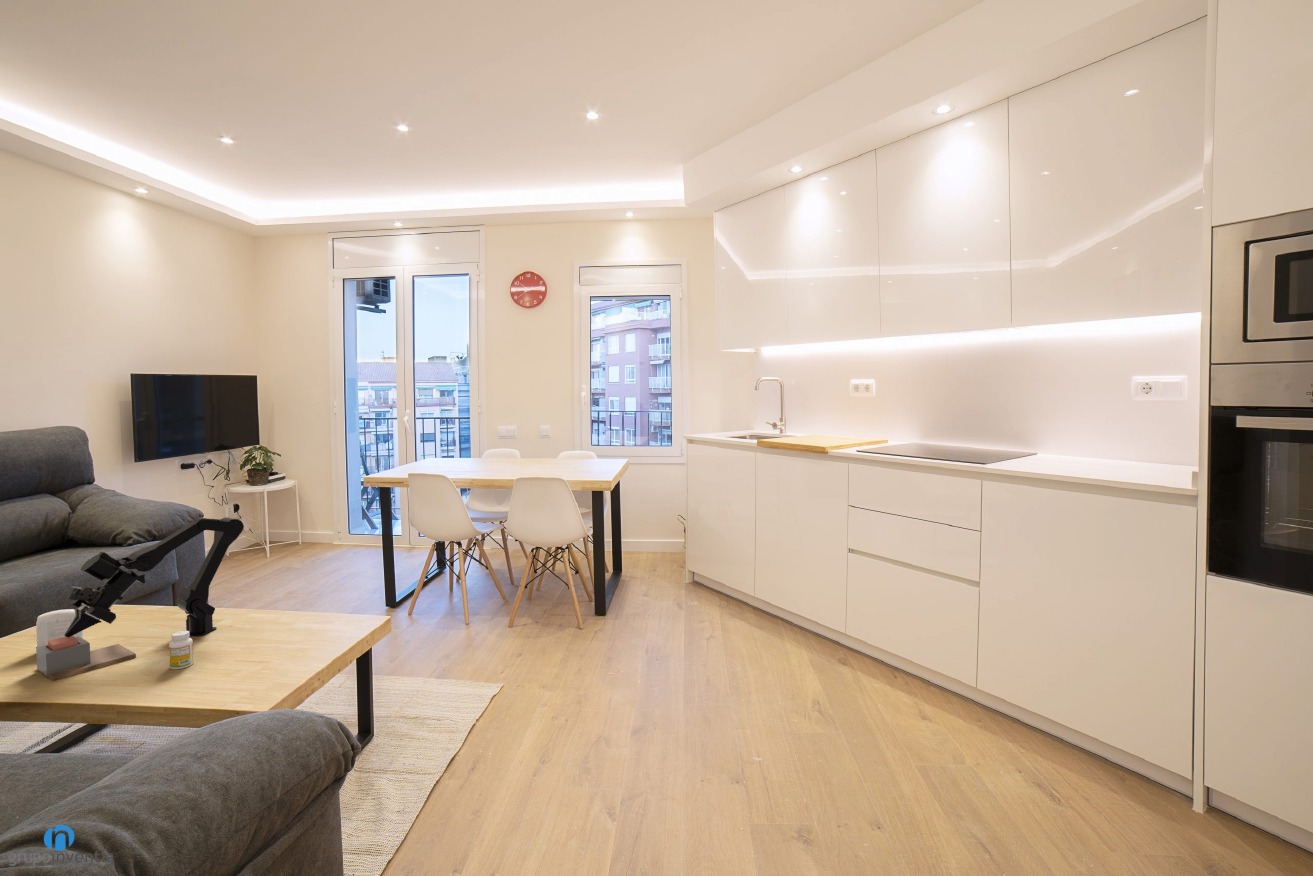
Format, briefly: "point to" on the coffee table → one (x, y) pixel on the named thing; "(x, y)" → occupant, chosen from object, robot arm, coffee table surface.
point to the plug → (62, 643)
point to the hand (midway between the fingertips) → (66, 636)
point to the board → (97, 660)
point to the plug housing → (63, 657)
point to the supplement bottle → (181, 650)
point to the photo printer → (54, 625)
